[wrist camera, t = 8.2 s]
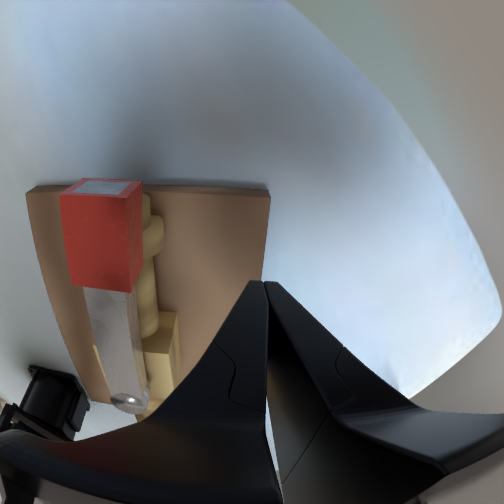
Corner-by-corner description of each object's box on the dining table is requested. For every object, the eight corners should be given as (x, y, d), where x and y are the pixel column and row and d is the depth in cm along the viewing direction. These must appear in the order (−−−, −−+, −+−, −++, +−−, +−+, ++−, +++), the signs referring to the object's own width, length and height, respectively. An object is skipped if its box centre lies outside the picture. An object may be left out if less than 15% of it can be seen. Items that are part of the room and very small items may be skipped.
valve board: (94, 389, 27) (79, 436, 22) (36, 186, 17) (-18, 221, 12) (242, 404, 29) (245, 456, 23) (268, 190, 18) (283, 233, 13)
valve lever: (156, 394, 18) (151, 421, 16) (117, 388, 18) (110, 413, 16) (142, 181, 12) (125, 197, 10) (83, 178, 11) (59, 194, 10)
